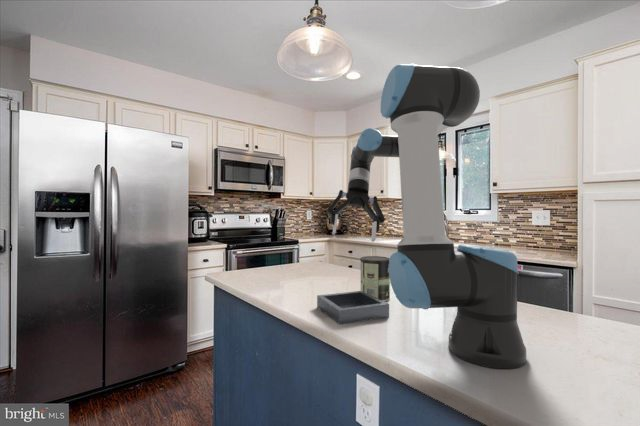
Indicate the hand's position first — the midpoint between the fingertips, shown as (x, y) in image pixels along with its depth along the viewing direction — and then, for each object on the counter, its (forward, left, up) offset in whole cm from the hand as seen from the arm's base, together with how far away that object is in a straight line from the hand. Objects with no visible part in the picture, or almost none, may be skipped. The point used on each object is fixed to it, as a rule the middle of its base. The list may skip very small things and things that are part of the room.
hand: (353, 236), depth 108 cm
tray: (-10, +6, -22) cm, 25 cm away
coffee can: (0, -9, -22) cm, 24 cm away
